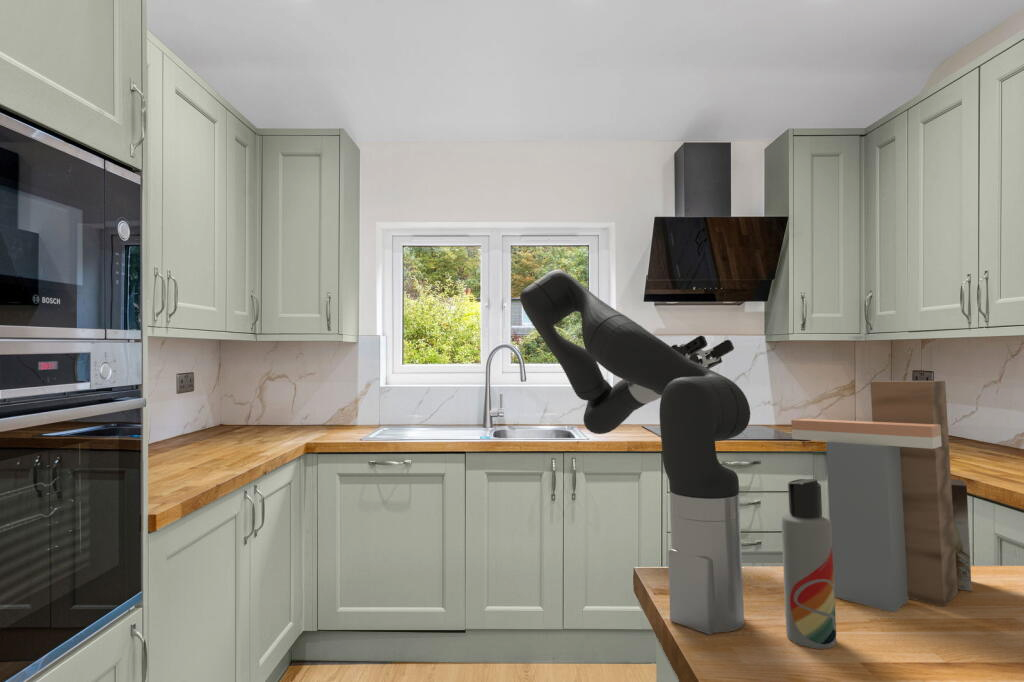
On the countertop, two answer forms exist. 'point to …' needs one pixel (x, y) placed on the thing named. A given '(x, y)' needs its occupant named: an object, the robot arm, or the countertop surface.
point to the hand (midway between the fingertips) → (718, 342)
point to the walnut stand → (923, 488)
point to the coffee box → (961, 534)
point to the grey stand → (867, 524)
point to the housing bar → (868, 432)
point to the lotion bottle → (808, 568)
